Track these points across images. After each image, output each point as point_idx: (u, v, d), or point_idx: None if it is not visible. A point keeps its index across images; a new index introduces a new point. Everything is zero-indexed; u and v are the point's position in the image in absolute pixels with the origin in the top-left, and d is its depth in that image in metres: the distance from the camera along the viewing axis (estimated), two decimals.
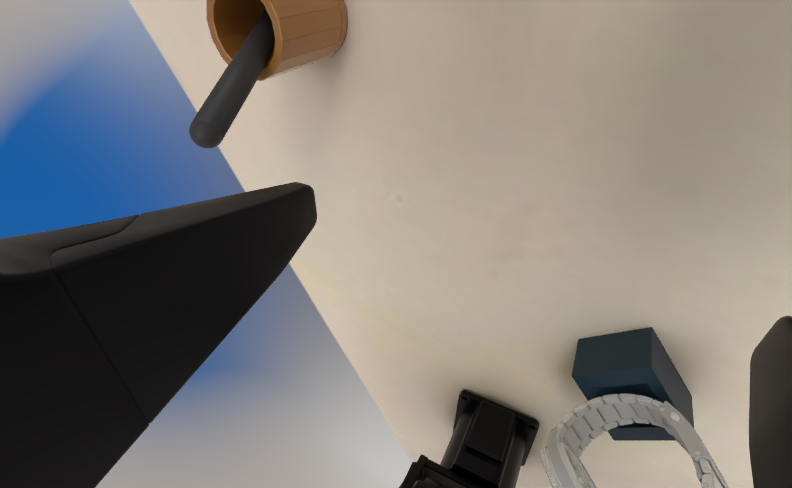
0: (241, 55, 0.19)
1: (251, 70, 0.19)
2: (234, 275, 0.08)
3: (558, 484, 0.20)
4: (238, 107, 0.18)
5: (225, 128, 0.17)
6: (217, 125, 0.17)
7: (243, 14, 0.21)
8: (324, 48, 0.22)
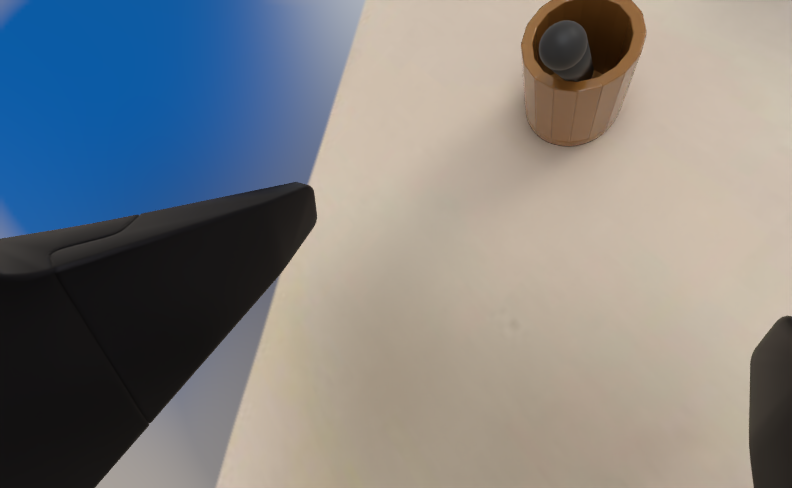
0: None
1: (589, 63, 0.15)
2: (234, 275, 0.08)
3: None
4: (579, 68, 0.13)
5: (578, 63, 0.12)
6: (586, 49, 0.12)
7: None
8: (589, 128, 0.19)
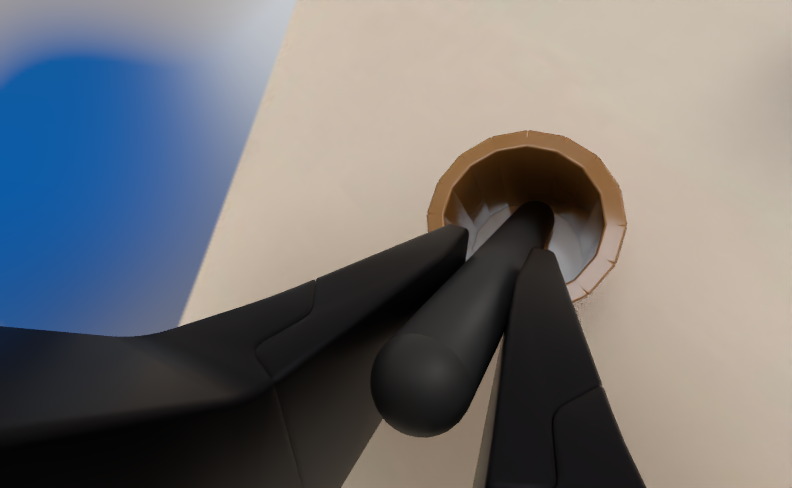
0: (518, 258, 0.08)
1: None
2: None
3: None
4: None
5: None
6: (473, 395, 0.05)
7: (481, 189, 0.12)
8: None
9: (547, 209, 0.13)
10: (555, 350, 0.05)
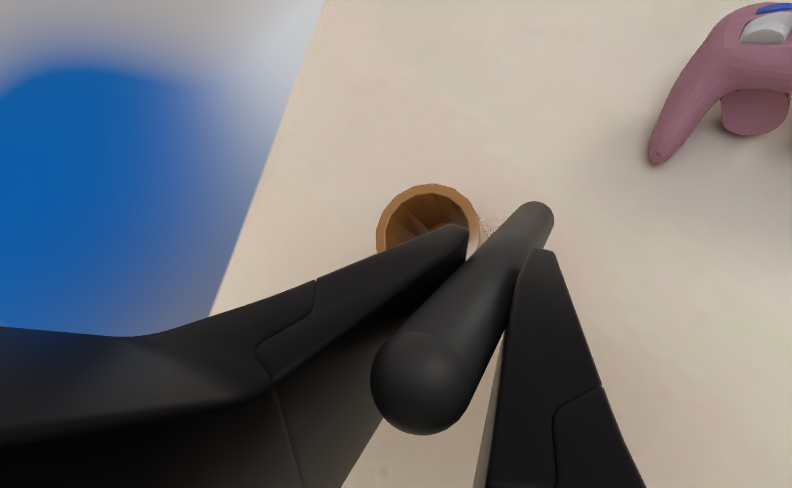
0: (517, 258, 0.08)
1: None
2: None
3: None
4: None
5: None
6: (473, 393, 0.05)
7: (415, 214, 0.20)
8: None
9: (547, 210, 0.13)
10: (555, 350, 0.05)
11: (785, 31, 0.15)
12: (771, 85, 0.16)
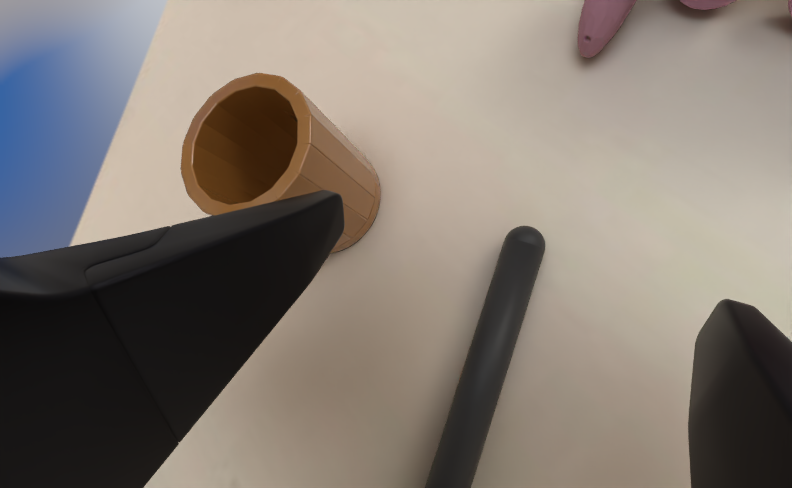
0: (477, 428, 0.12)
1: (484, 441, 0.13)
2: (265, 287, 0.08)
3: None
4: None
5: None
6: None
7: (260, 131, 0.15)
8: None
9: (530, 258, 0.13)
10: None
11: None
12: None
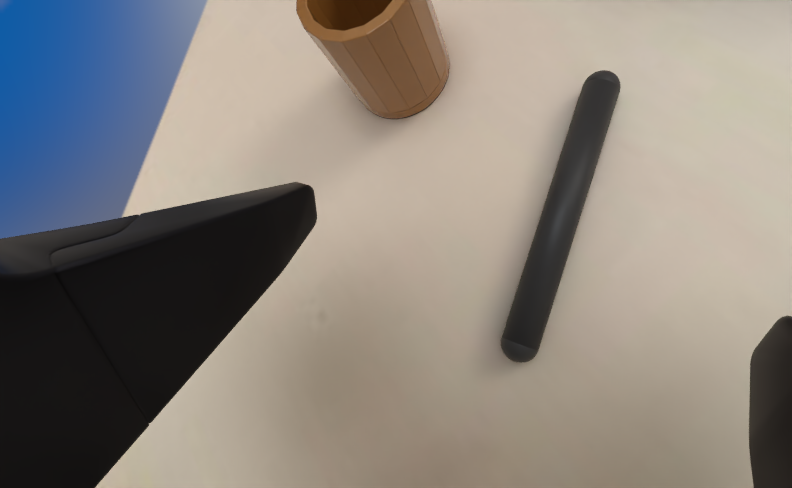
0: (572, 239, 0.15)
1: None
2: (234, 275, 0.08)
3: None
4: None
5: None
6: None
7: None
8: (398, 94, 0.17)
9: None
10: None
11: None
12: None
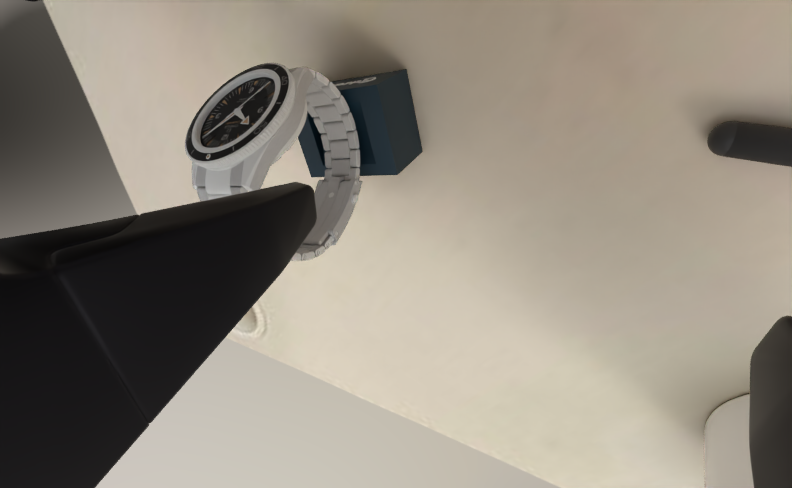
0: None
1: None
2: (234, 275, 0.08)
3: (271, 132, 0.14)
4: None
5: (750, 130, 0.15)
6: (742, 123, 0.15)
7: None
8: None
9: None
10: None
11: None
12: None
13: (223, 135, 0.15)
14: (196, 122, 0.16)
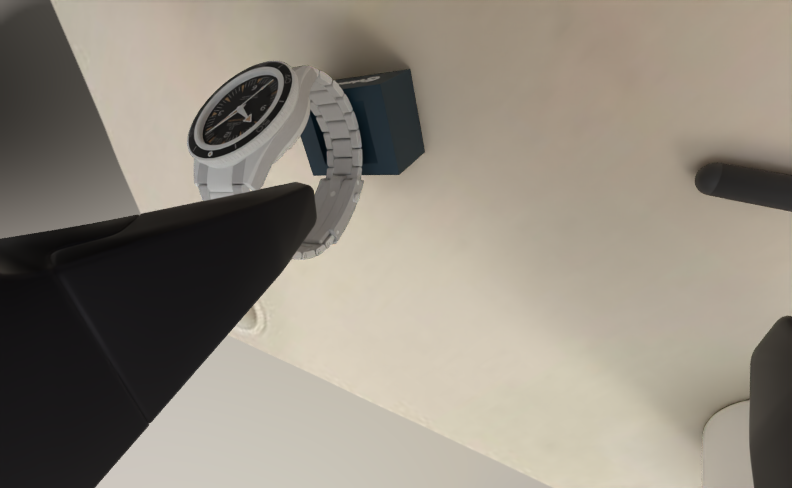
0: None
1: None
2: (234, 275, 0.08)
3: (273, 130, 0.14)
4: (758, 204, 0.16)
5: None
6: (716, 194, 0.16)
7: None
8: None
9: None
10: None
11: None
12: None
13: (225, 132, 0.15)
14: (199, 119, 0.16)
